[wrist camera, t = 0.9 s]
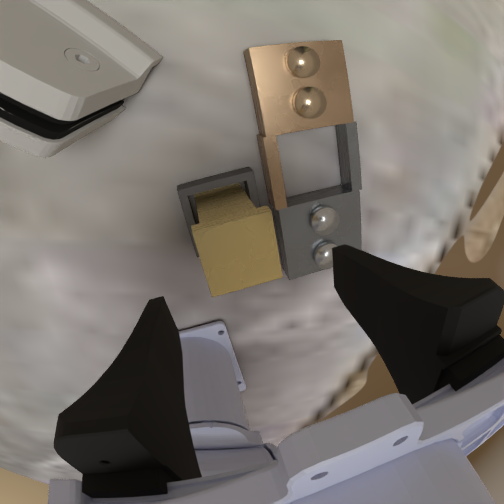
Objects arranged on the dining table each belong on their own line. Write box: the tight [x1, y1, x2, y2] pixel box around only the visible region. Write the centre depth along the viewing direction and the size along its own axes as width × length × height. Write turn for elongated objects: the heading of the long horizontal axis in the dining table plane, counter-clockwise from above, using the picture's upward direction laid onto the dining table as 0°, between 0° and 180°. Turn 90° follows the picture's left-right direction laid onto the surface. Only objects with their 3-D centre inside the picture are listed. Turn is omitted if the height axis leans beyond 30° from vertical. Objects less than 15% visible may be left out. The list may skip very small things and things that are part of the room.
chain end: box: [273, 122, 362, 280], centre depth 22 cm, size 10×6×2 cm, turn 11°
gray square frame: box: [177, 167, 260, 257], centre depth 21 cm, size 5×5×1 cm
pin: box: [191, 183, 282, 297], centre depth 19 cm, size 4×4×7 cm
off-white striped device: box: [0, 0, 163, 158], centre depth 10 cm, size 17×5×10 cm, turn 46°
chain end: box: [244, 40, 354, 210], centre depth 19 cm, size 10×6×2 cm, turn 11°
